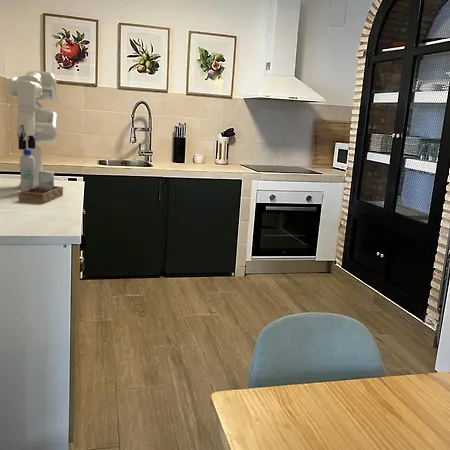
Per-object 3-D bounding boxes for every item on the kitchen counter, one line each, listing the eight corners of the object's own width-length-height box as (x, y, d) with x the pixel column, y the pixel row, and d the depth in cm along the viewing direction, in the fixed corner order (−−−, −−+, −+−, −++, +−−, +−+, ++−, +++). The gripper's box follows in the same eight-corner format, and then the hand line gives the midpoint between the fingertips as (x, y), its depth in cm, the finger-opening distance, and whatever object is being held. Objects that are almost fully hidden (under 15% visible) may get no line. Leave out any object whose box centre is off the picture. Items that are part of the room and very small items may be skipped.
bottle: (38, 193, 232) (38, 149, 227) (27, 195, 226) (27, 150, 221) (27, 191, 234) (27, 148, 230) (16, 193, 228) (15, 149, 224)
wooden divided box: (39, 193, 232) (39, 169, 229) (62, 195, 232) (62, 171, 229) (18, 201, 210) (18, 175, 208) (44, 203, 210) (44, 177, 208)
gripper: (26, 109, 230) (26, 147, 234) (9, 108, 213) (10, 149, 217) (42, 110, 230) (42, 148, 234) (26, 109, 213) (27, 150, 217)
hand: (27, 148), depth 225 cm, fingers open, 9 cm apart
